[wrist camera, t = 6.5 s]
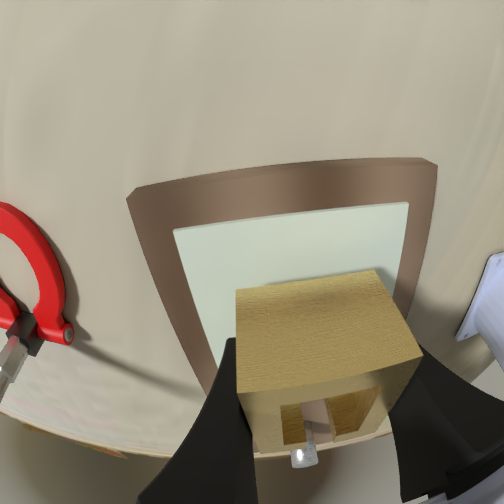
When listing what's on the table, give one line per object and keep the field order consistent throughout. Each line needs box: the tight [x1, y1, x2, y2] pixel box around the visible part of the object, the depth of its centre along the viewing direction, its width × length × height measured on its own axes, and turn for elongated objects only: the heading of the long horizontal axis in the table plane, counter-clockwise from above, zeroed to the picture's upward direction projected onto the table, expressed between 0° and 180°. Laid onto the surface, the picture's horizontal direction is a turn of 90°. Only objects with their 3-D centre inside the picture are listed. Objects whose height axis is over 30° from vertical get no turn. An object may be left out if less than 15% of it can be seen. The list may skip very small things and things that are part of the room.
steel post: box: [290, 420, 318, 468], centre depth 18 cm, size 2×2×4 cm
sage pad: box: [173, 202, 409, 368], centre depth 12 cm, size 9×9×1 cm
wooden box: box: [235, 270, 424, 454], centre depth 9 cm, size 5×6×4 cm
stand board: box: [126, 158, 438, 453], centre depth 17 cm, size 12×27×1 cm, turn 7°
